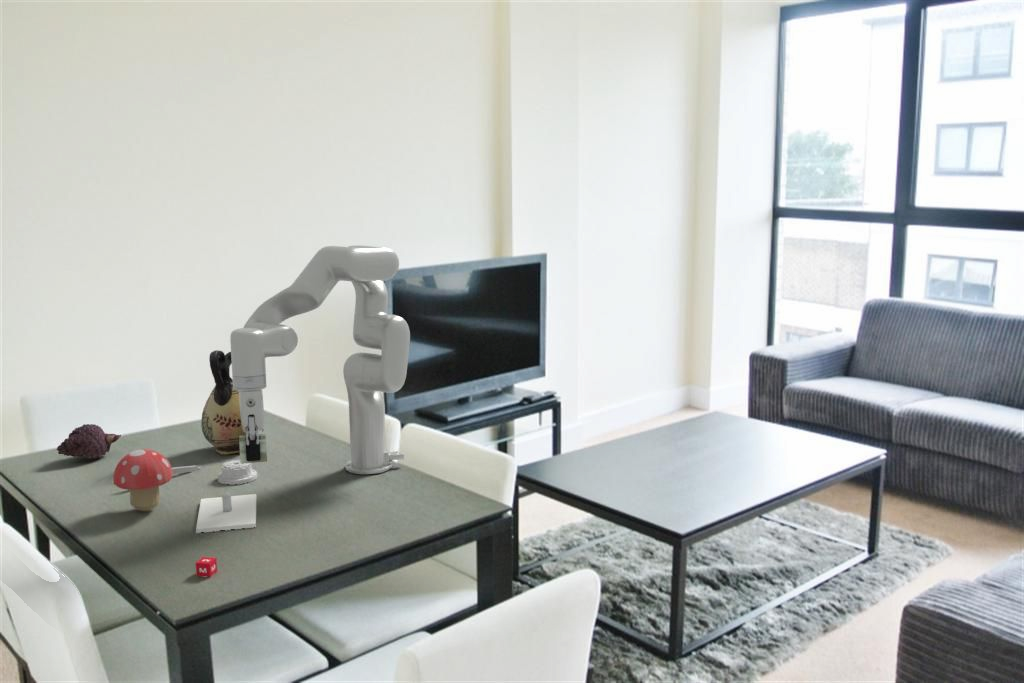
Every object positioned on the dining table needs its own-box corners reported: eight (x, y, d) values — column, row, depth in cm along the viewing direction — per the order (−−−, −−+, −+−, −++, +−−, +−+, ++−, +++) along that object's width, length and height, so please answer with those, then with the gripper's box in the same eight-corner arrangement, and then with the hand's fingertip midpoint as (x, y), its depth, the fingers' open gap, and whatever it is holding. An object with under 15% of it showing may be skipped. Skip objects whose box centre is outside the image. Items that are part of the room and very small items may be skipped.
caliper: (135, 491, 244) (133, 467, 243) (133, 490, 245) (131, 467, 244) (201, 469, 261) (200, 447, 260) (199, 469, 261) (197, 446, 260)
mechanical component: (210, 484, 249) (246, 487, 247) (209, 468, 248) (245, 470, 246) (229, 472, 258) (263, 474, 256) (228, 456, 257) (262, 458, 255)
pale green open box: (266, 454, 229) (265, 433, 228) (267, 461, 224) (266, 440, 223) (240, 456, 228) (239, 435, 227) (240, 463, 222) (239, 442, 221)
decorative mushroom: (105, 512, 229) (99, 452, 226) (157, 497, 239) (152, 439, 236) (134, 525, 221) (129, 463, 218) (186, 509, 231) (182, 449, 228)
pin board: (256, 497, 238) (255, 476, 237) (256, 527, 219) (254, 504, 218) (201, 502, 235) (199, 481, 234) (196, 533, 216) (194, 510, 215)
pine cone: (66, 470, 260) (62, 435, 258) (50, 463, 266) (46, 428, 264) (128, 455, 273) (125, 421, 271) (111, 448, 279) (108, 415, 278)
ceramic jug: (217, 441, 285) (210, 342, 280) (267, 443, 283) (261, 343, 278) (191, 459, 269) (183, 354, 263) (243, 461, 267) (236, 355, 261)
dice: (196, 576, 194) (195, 562, 193) (203, 570, 196) (202, 556, 196) (210, 577, 193) (209, 563, 193) (217, 571, 196) (216, 557, 195)
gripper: (267, 388, 215) (271, 466, 218) (265, 373, 232) (268, 445, 235) (232, 390, 213) (236, 468, 216) (232, 374, 230) (236, 447, 233)
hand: (253, 455), depth 226 cm, fingers closed on pale green open box, 6 cm apart
